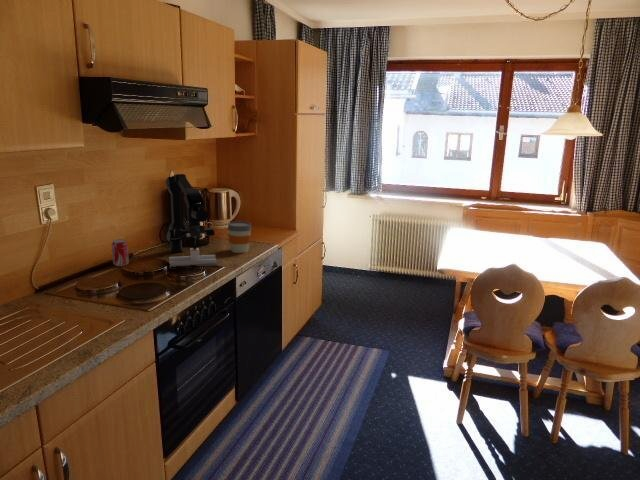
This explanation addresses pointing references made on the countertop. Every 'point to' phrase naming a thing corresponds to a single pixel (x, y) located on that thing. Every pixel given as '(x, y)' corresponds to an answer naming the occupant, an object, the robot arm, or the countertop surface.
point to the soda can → (120, 252)
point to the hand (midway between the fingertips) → (194, 249)
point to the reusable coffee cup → (239, 236)
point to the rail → (193, 261)
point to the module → (194, 254)
